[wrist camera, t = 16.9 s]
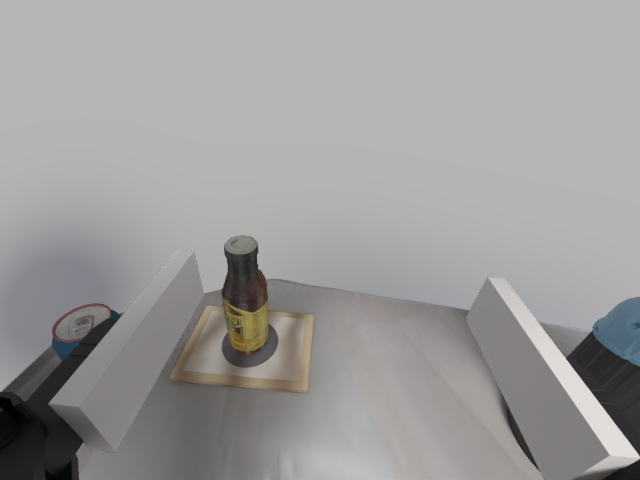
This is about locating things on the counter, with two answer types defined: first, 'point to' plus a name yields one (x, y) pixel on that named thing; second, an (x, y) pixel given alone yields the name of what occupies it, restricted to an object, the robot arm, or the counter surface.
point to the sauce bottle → (245, 297)
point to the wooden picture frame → (248, 370)
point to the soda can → (78, 326)
